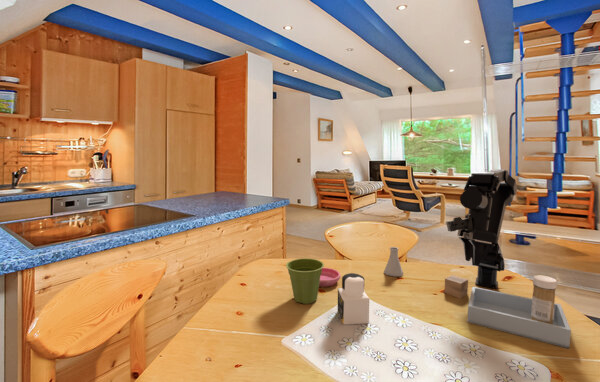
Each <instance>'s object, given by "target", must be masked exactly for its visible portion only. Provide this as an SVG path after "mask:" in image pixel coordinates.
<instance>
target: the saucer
mask: <svg viewBox="0 0 600 382" xmlns="http://www.w3.org/2000/svg"><path fill="white" fill-rule="evenodd" d="M340 279H341V273H340V272H339V270H337V269H334V268H330V267H323V268H322V273H321V275H320V282H319V287H322V288H323V287H324V288H326V287H332V286H334V285H335V284H337V282H338V281H339V280H340Z"/></svg>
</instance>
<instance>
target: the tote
mask: <svg viewBox="0 0 600 382" xmlns="http://www.w3.org/2000/svg"><path fill="white" fill-rule="evenodd" d="M531 310H532V297H526V296H521V295H516V294H510V293H507V292H501V291H496V290H491V289H486V288H483V287H482V288H481V287H476V286H472V288H471V293H470V296H469V300H468V305H467V321H466V322H467V323H469V324H472V325H473V324H474V325H477V326H481V327H484V328H489V329H492V330H497V331H499V332H504V333H508V334H511V335H516V336H519V337H523V338H527V339H530V340H534V341H538V342H543V343H546V344H550V345H553V346H556V347H557V346H558V347H561V348H565V349H570V345H571V344H570V343H571V334H572V330H571V327H570V325H569V322H568V319H567V317H566V315H565V312H564V309H563V307H562V304H561V303H556V302H554V319H553V325H552V324H548V323H544V322H540V321H535V320H531Z"/></svg>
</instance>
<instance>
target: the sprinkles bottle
mask: <svg viewBox="0 0 600 382" xmlns="http://www.w3.org/2000/svg"><path fill="white" fill-rule="evenodd" d="M532 285H533V291H532V297H531V299H532V310H531V320H535V321H540V322H544V323H548V324H552V325H553V319H554V303H556V302H555V299H556V289H557V285H558V282H557V279H555V278H554V277H551V276H547V275H542V274H541V275H540V274H539V275H538V274H537V275H534V276H533V277H532Z"/></svg>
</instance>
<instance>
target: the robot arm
mask: <svg viewBox="0 0 600 382" xmlns="http://www.w3.org/2000/svg"><path fill="white" fill-rule="evenodd" d="M463 190H464V191H463V192H462V193H461V194H460V197H459V202H460V204H461V205H462V206H463V207H464V208H466V209H467V210H468V212H467V213H466V214H465V216H464V218H462V217H461V216H457V217H453V219H452V220H446V221H445V223H446V228H447V231H448V232H450V233H451V232H456V231H457V236H458V239H459V240H460V241H461V242H462V244H463V249H464V250H463V251H464V259H465V261H467V262H469V261H471V263H472V264H471V265H472V266H475V267H477V277H476V278H475V282H474V283H475V286H481V287H487V288H489V289H490V288H491V289H494V290H498V288H499V285H498V284H499V282H498V281H497V280H498V279H497V278H498V272H502V271H505V259H504V257H503V253H502V249H501V246H500V245H499V241H500V240H499V239H500V234H501V230H502V225H503V221H504V217H505V211H506V207H507V206H508V205H510V204H511V203H512V202H513V200H514V197H515V196H516V195H517V192H518V191H517V190H518V186H517V181H516V179H515V178H514V177H512V176H511V175H510V174H509V170H508V169H507V170H506V169H498V168H495V169H490V171H487V172H485V171H472V172H471V174H470V175H469V177H468V178H467V180H466V183H465V185H464V187H463Z"/></svg>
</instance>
